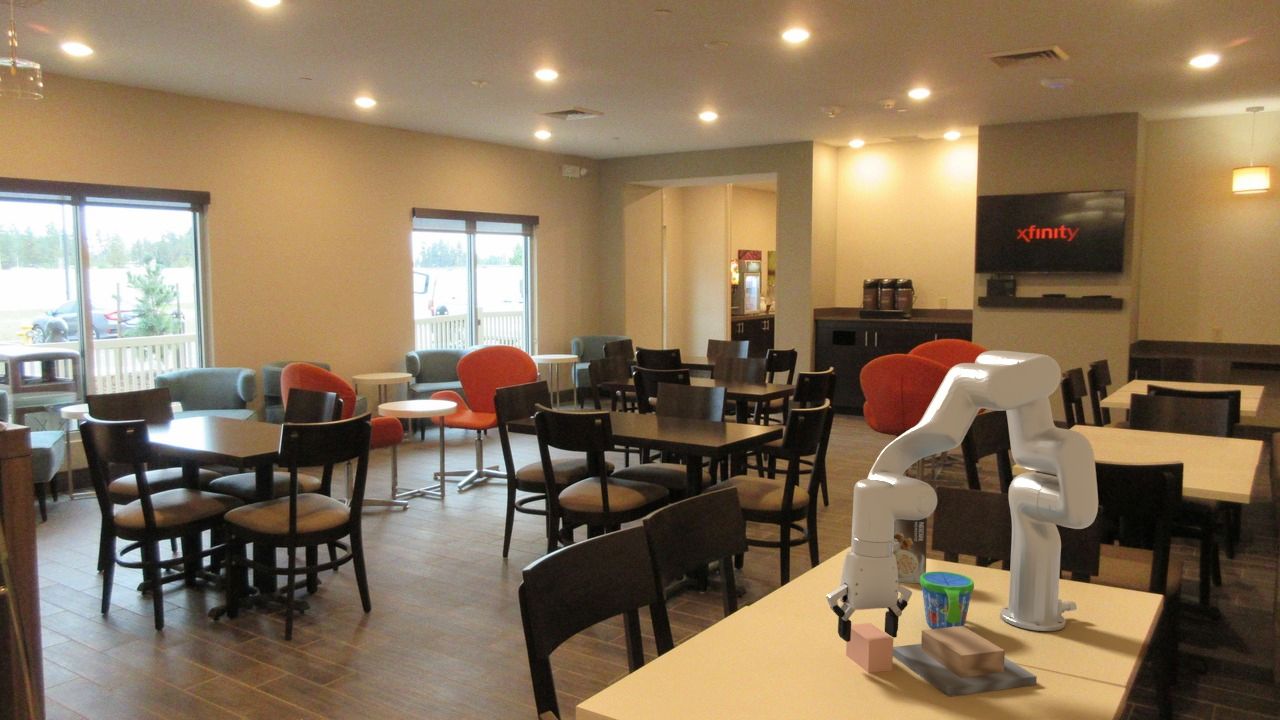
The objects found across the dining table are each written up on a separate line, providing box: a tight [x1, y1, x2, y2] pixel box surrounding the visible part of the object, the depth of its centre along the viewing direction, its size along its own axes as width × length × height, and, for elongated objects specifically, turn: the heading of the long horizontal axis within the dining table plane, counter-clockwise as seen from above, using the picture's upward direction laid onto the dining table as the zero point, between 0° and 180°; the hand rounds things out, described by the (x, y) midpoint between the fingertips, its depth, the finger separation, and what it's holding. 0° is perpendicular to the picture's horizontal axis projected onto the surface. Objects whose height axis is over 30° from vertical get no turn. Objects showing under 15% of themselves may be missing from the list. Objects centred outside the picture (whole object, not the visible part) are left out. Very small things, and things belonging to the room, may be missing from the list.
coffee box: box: [893, 517, 928, 584], centre depth 214 cm, size 9×6×16 cm
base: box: [893, 626, 1037, 697], centre depth 163 cm, size 18×18×6 cm
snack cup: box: [919, 571, 975, 629], centre depth 184 cm, size 16×10×10 cm
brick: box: [845, 622, 894, 674], centre depth 165 cm, size 5×8×6 cm, turn 16°
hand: (867, 637), depth 165 cm, fingers open, 9 cm apart
